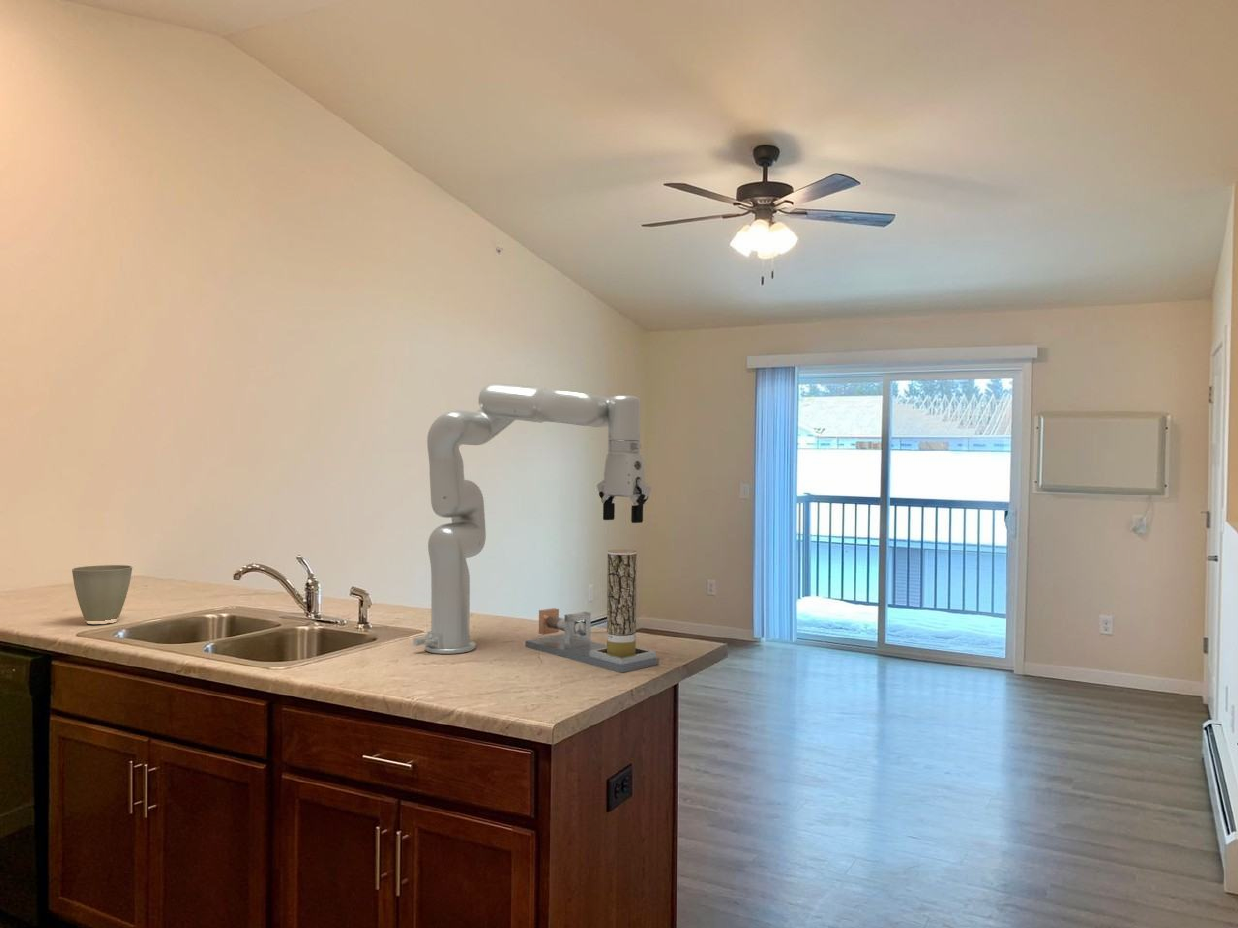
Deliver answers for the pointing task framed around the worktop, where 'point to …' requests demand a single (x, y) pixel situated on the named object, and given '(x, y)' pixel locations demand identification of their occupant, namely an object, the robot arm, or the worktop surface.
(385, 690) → the worktop surface
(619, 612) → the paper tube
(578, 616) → the shaft frame
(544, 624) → the shaft
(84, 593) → the plant pot
